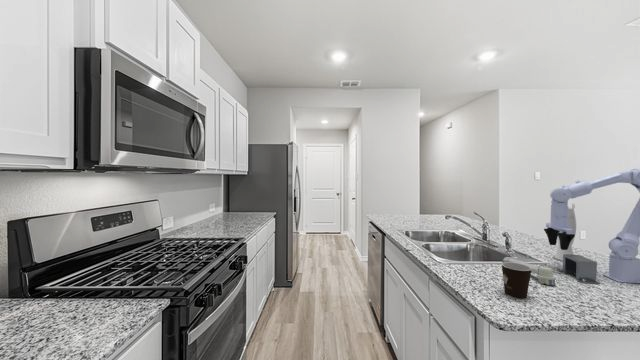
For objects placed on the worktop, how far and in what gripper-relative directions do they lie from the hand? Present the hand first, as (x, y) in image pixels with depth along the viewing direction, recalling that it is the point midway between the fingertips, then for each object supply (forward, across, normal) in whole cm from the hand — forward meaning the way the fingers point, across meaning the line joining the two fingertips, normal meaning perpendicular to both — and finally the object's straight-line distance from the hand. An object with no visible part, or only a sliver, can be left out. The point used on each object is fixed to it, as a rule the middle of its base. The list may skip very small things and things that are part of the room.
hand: (558, 247), depth 125 cm
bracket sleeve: (+10, +8, +2) cm, 13 cm away
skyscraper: (+10, -15, +12) cm, 22 cm away
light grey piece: (+10, +8, -16) cm, 21 cm away
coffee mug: (+10, +29, -30) cm, 43 cm away
